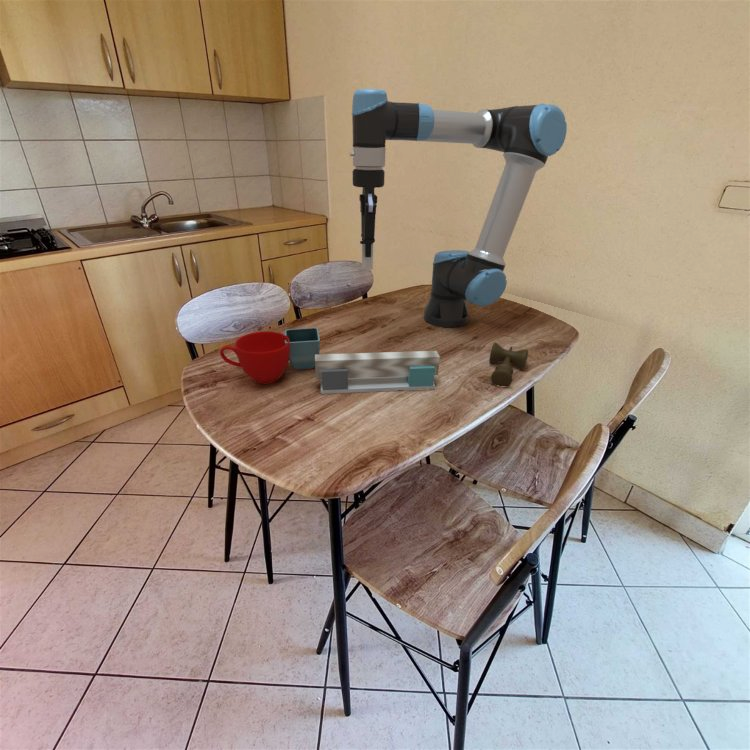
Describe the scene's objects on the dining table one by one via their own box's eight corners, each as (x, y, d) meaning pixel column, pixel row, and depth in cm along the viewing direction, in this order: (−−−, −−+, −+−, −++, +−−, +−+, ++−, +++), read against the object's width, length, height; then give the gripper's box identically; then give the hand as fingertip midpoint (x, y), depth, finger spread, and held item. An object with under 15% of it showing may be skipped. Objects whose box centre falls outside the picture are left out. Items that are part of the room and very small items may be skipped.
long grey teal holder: (428, 375, 113) (430, 355, 111) (434, 389, 107) (437, 367, 104) (320, 379, 110) (319, 358, 107) (320, 393, 104) (319, 371, 101)
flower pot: (287, 374, 113) (284, 342, 108) (287, 359, 120) (284, 329, 116) (321, 371, 114) (320, 340, 110) (319, 357, 122) (317, 327, 117)
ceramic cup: (229, 366, 115) (224, 331, 111) (294, 365, 117) (291, 331, 112) (218, 391, 104) (212, 353, 99) (289, 389, 106) (287, 352, 101)
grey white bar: (434, 368, 111) (436, 350, 108) (438, 375, 108) (439, 356, 105) (315, 372, 107) (315, 354, 105) (315, 379, 104) (315, 361, 102)
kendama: (479, 385, 111) (492, 352, 127) (518, 394, 108) (526, 359, 124) (483, 365, 108) (496, 334, 124) (523, 373, 105) (531, 340, 121)
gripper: (350, 166, 107) (351, 262, 118) (354, 169, 95) (354, 275, 107) (381, 166, 108) (378, 262, 119) (388, 170, 96) (384, 275, 107)
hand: (367, 268), depth 113 cm, fingers closed
